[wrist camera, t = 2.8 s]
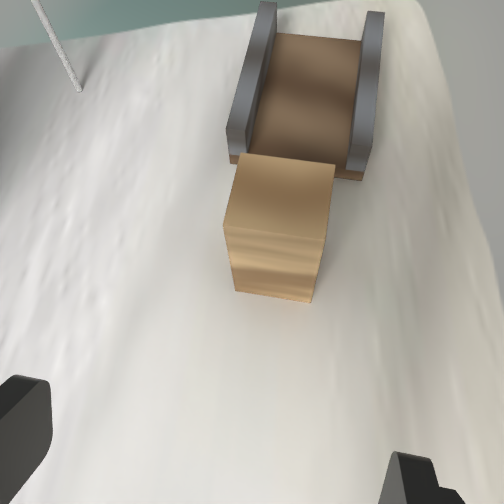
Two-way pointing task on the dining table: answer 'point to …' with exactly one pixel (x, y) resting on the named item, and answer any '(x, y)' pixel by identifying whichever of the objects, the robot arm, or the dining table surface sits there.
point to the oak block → (277, 225)
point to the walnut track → (307, 96)
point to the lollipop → (56, 44)
